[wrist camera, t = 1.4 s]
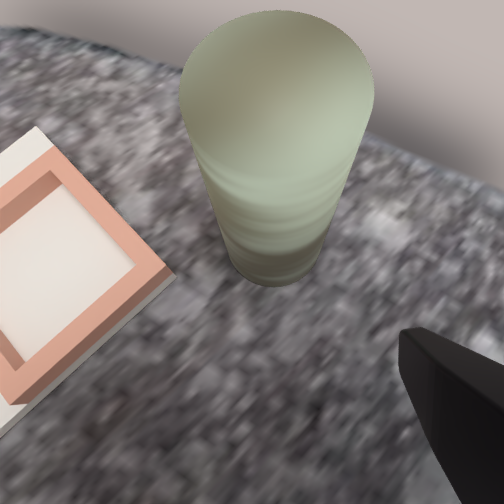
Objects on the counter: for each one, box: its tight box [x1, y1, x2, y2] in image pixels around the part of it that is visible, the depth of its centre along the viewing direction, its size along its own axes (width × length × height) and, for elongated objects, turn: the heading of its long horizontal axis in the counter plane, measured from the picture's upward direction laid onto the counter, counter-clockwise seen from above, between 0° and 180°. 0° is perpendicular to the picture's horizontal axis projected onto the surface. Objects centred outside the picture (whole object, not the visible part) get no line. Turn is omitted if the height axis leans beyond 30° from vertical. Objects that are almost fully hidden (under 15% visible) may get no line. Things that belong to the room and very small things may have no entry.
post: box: [179, 10, 374, 287], centre depth 17 cm, size 5×5×12 cm
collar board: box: [0, 126, 177, 438], centre depth 22 cm, size 12×12×2 cm
